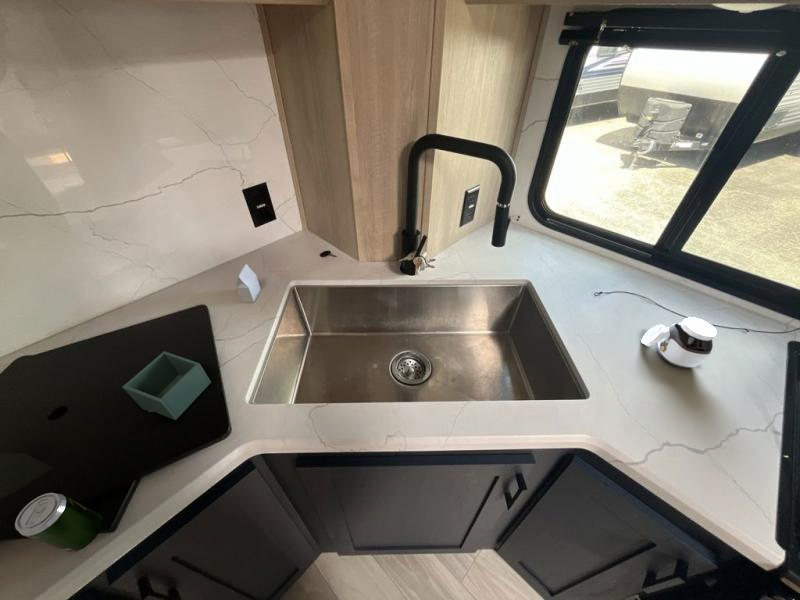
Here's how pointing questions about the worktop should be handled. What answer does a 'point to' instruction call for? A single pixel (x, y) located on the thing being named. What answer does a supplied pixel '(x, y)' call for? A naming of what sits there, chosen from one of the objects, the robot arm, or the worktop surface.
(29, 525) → the beer can
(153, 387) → the bin
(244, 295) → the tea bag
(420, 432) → the worktop surface
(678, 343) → the spread jar
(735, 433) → the worktop surface
